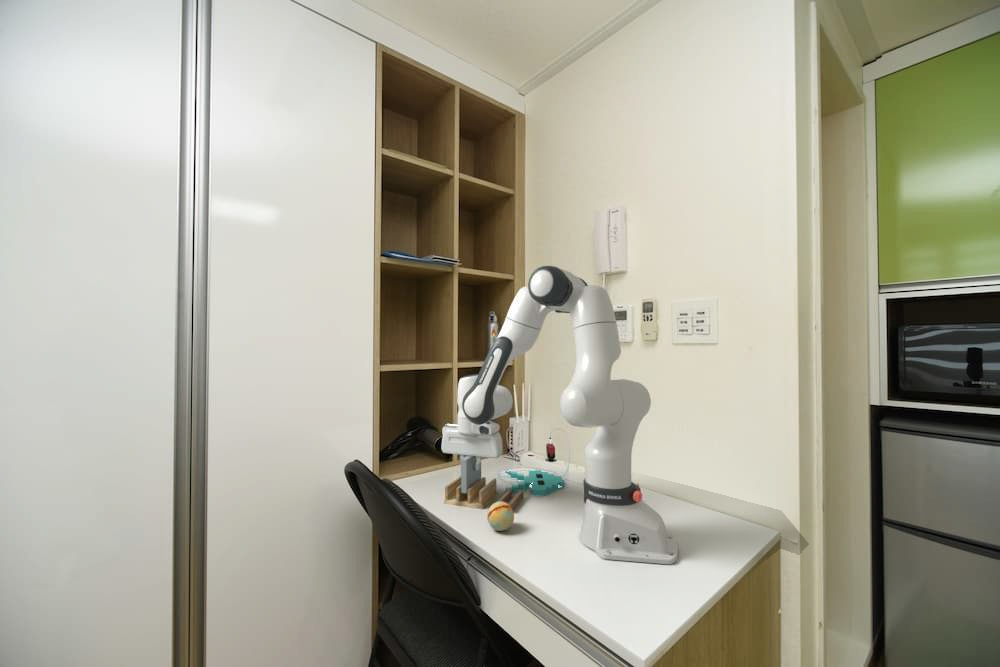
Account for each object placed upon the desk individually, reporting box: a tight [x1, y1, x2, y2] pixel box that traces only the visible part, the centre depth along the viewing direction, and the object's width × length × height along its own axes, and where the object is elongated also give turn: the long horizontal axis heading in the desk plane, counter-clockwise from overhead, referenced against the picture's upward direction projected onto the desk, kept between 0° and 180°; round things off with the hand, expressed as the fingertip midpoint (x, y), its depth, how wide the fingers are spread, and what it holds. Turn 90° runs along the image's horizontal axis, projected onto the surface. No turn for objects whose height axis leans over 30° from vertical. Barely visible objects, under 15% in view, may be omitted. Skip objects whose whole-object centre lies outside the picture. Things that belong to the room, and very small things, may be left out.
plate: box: [460, 455, 482, 493], centre depth 121 cm, size 2×11×10 cm, turn 159°
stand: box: [496, 488, 525, 512], centre depth 116 cm, size 5×12×2 cm, turn 159°
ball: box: [486, 501, 515, 532], centre depth 100 cm, size 7×7×7 cm
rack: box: [443, 475, 499, 510], centre depth 121 cm, size 13×12×5 cm
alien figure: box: [504, 469, 565, 496], centre depth 133 cm, size 20×2×20 cm
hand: (471, 469), depth 121 cm, fingers closed on plate, 2 cm apart
